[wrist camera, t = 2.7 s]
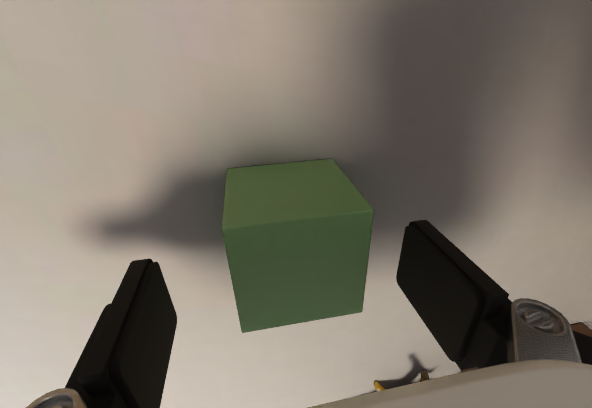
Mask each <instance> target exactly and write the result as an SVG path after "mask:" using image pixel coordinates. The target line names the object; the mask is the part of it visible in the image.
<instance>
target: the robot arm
mask: <svg viewBox="0 0 592 408" xmlns="http://www.w3.org/2000/svg"><path fill="white" fill-rule="evenodd" d="M396 278H397V283H398V285H399V287H400V288H401V290H402V291H403V293H404V294H405V295H406V297H407V298H408V300H409V301H410V303H411V304H412V306H413V307H414V308H415V310H416V311H417V313H418V314H419V316H420V317H421V319H422V320H423V322H424V323H425V324H426V326H427V327H428V329H429V330H430V332H431V333H432V335H433V336H434V338H435V339H436V340H437V342H438V343H439V345H440V346H441V348H442V349H443V351H444V352H445V354H446V355H447V356H448V358H449V359H450V360H451V361H453V362H454V361H455V362H456V364H457V365H458V367H459V368H460V369H461V371H462V370H466V369H470V368H475V367H476V366H477V367H478V369H477V370H472V371H467V372H462V373H457V374H453V375H449V376H444V377H440V378H435V379H431V380H426V381H422V382H418V383H413V384H409V385H404V386H400V387H395V388H391V389H387V390H382V391H378V392H374V393H369V394H365V395H361V396H356V397H352V398H348V399H343V400H339V401H335V402H330V403H326V404H322V405H317V406H313V407H309V408H592V337H590V336H587V335H584V334H582V333H579V332H576V331H573V330H572V328H571V326H570V324H569V322H568V320H567V319H566V318H565V317H564V316H563V315H562V314H561V313H560V312H558V311H557V310H556V309H554V308H552V307H551V306H549V305H547V304H545V303H542V302H540V301H537V300H532V299H517V300H515V301H514V302H513V303H512V302H511V301H510V300H509V299H508V296H509V294H508V293H507V292H506V291H505V290H504V289H502V288H501V287H500V286H499V285H498V284H497V283H496V282H495V281H494V280H492V279H491V278H490V277H489V276H488V275H487V274H486V273H485V272H484V271H483V270H481V269H480V268H479V267H478V266H477V265H476V264H475V263H474V262H473V261H471V260H470V259H469V258H468V257H467V256H466V255H465V254H464V253H463V252H461V251H460V250H459V249H458V248H457V247H456V246H455V245H454V244H453V243H452V242H450V241H449V240H448V239H447V238H446V237H445V236H444V235H443V234H442V233H440V232H439V231H438V230H437V229H436V228H435V227H434V226H433V225H432V224H430V223H429V222H428V221H427V220H420V221H413V222H410V223H409V226H407V227H406V228H405V233H404V238H403V243H402V249H401V254H400V260H399V265H398V271H397V276H396ZM176 325H177V316H176V312H175V309H174V306H173V303H172V301H171V298H170V295H169V292H168V289H167V286H166V283H165V281H164V278H163V275H162V272H161V269H160V266H159V264H158V262H153V261H152V260H151V259H144V260H136V261H132V262H131V263H130V265H129V267H128V270H127V272H126V274H125V276H124V278H123V280H122V282H121V284H120V286H119V289H118V291H117V293H116V295H115V297H114V299H113V301H112V303H111V304H108V305H107V306H106V307H105V308H104V310H103V312H102V314H101V316H100V318H99V320H98V322H97V324H96V326H95V328H94V330H93V332H92V334H91V336H90V338H89V340H88V342H87V344H86V346H85V348H84V350H83V352H82V354H81V356H80V358H79V360H78V362H77V364H76V366H75V368H74V370H73V372H72V374H71V376H70V378H69V381H68V383H67V385H66V387H65V388H63V389H57V390H54V391H51V392H49V393H46V394H45V395H43V396H41V397H40V398H38V399H36V400H35V401H34V402H32V403H31V404H30V405H29V406H27V407H26V408H160V403H161V398H162V393H163V389H164V384H165V379H166V374H167V369H168V364H169V359H170V354H171V349H172V345H173V340H174V335H175V330H176Z"/></svg>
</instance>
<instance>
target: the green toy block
mask: <svg viewBox="0 0 592 408" xmlns="http://www.w3.org/2000/svg"><path fill="white" fill-rule="evenodd" d="M373 215H374V209H373V208H372V207H371V206H370V204H369V203H368V202H367V201H366V200H365V198H364V197H363V196H362V195H361V193H360V192H359V191H358V190H357V189H356V187H355V186H354V185H353V184H352V183H351V181H350V180H349V179H348V178H347V176H346V175H345V174H344V173H343V172H342V170H341V169H340V168H339V167H338V165H337V164H336V163H335V162H334V161H333V159H323V160H313V161H303V162H292V163H282V164H271V165H261V166H251V167H240V168H230V169H227V175H226V186H225V198H224V209H223V221H222V233H223V238H224V243H225V248H226V254H227V259H228V264H229V269H230V274H231V279H232V284H233V289H234V295H235V300H236V305H237V310H238V315H239V320H240V325H241V331H242V333H244V332H250V331H256V330H262V329H267V328H273V327H279V326H285V325H290V324H296V323H302V322H308V321H313V320H319V319H325V318H331V317H336V316H342V315H348V314H354V313H359V312H362V309H363V300H364V291H365V283H366V274H367V266H368V257H369V249H370V240H371V232H372V223H373Z"/></svg>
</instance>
